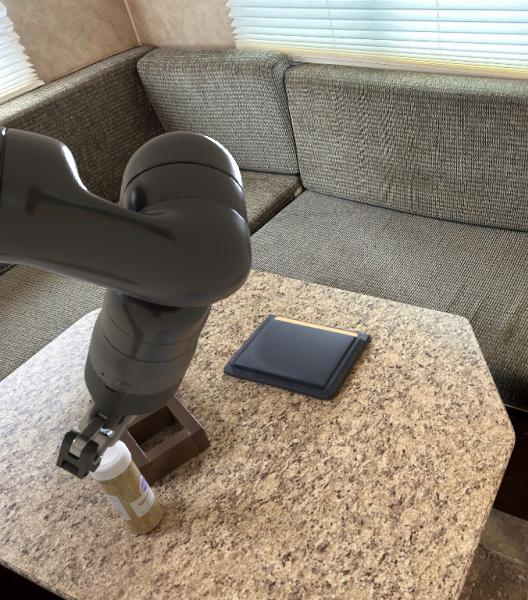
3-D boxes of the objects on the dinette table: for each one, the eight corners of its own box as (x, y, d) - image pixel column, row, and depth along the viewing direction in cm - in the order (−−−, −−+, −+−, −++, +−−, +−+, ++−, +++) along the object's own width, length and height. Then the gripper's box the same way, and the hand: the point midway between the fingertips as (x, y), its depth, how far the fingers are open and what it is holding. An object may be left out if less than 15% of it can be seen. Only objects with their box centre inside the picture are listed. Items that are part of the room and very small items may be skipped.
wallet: (217, 365, 96) (270, 306, 106) (220, 373, 97) (272, 314, 108) (327, 396, 89) (372, 330, 99) (329, 405, 90) (373, 338, 100)
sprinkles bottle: (166, 525, 77) (127, 460, 68) (129, 541, 75) (85, 477, 67) (161, 497, 80) (123, 432, 71) (125, 512, 78) (82, 448, 70)
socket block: (147, 487, 81) (137, 470, 79) (99, 418, 92) (88, 400, 89) (211, 445, 86) (203, 427, 83) (158, 383, 96) (149, 366, 94)
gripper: (154, 268, 52) (127, 356, 64) (33, 392, 43) (26, 469, 54) (229, 316, 53) (189, 394, 65) (127, 447, 44) (101, 512, 55)
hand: (115, 428), depth 59 cm, fingers open, 8 cm apart
